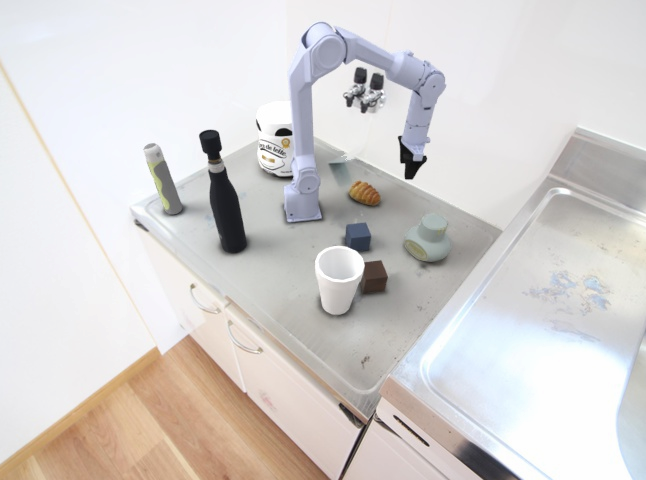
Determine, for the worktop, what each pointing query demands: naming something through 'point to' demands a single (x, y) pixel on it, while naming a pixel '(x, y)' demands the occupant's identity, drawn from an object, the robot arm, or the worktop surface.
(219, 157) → the wine bottle
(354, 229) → the slate block
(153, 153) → the spray bottle
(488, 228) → the worktop surface
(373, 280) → the walnut block
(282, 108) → the milk container
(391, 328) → the worktop surface
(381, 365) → the worktop surface
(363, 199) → the pastry
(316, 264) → the foam cup
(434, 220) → the air freshener
